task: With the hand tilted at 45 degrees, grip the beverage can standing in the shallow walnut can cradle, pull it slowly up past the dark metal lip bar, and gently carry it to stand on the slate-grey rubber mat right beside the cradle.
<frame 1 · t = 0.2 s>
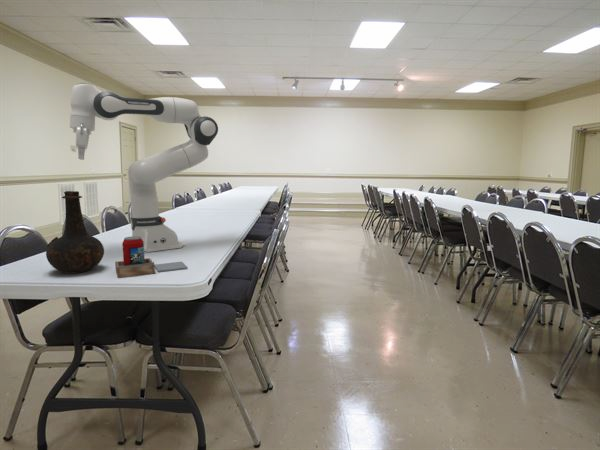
hand: (81, 159, 164), 39 cm above the table, tool pointing down, fingers open, 8 cm apart
glass bottle: (77, 270, 143), on the table
beverage can: (134, 272, 140), resting in can cradle
can cradle: (134, 271, 140), on the table
rubber mat: (170, 267, 146), on the table
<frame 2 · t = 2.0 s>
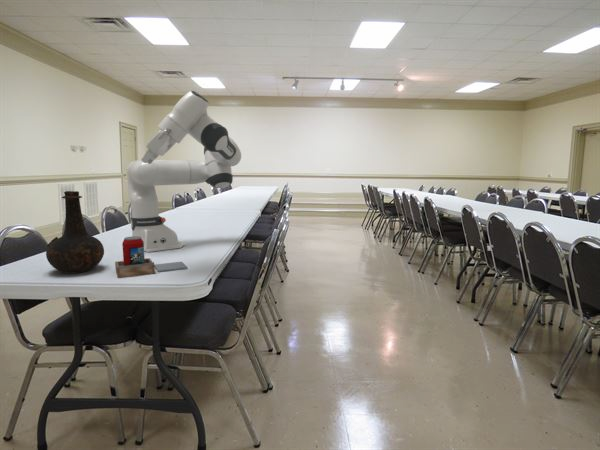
hand: (145, 162, 138), 37 cm above the table, tool tilted 40°, fingers open, 8 cm apart
nothing on the table moved.
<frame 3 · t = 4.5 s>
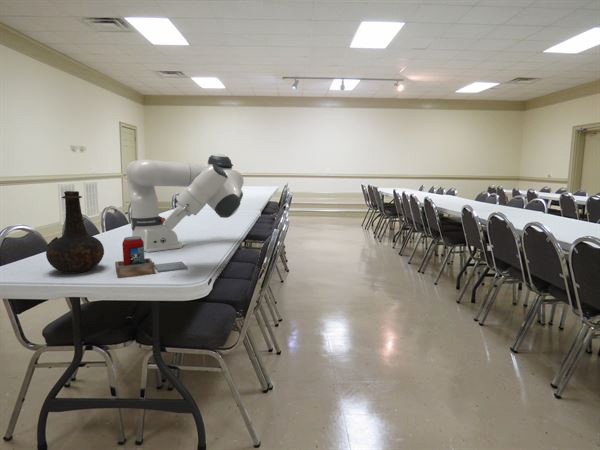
hand: (161, 232, 140), 14 cm above the table, tool tilted 45°, fingers open, 8 cm apart
nothing on the table moved.
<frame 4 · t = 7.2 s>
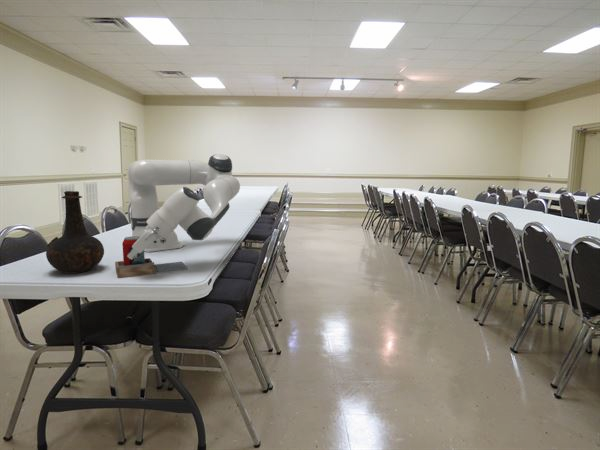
hand: (131, 254, 139), 6 cm above the table, tool tilted 45°, fingers closed on beverage can, 7 cm apart
beverage can: (135, 272, 140), resting in can cradle, touching gripper
everything else where it was.
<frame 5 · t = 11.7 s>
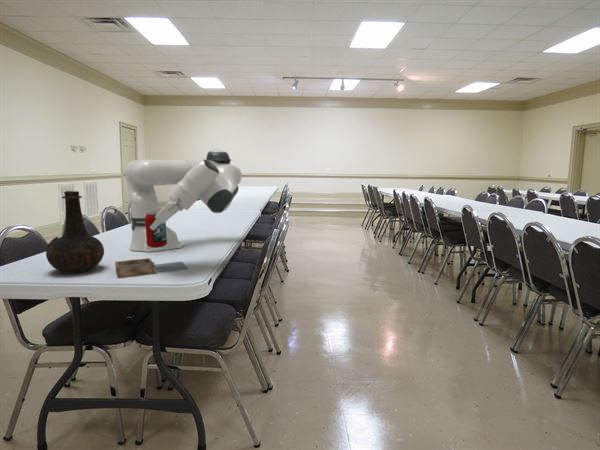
hand: (153, 227, 141), 15 cm above the table, tool tilted 45°, fingers closed on beverage can, 7 cm apart
beverage can: (157, 246, 143), point 8 cm above the table, touching gripper
everything else where it was.
when the fingers open (8 cm above the table, at t = 15.3 s): beverage can stays where it is, resting on rubber mat.
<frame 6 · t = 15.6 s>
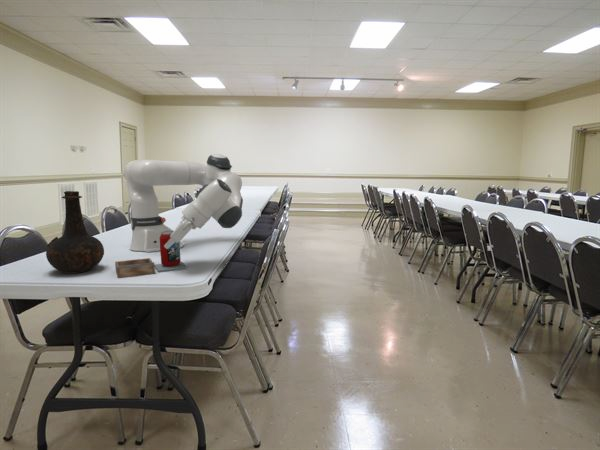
hand: (167, 244, 145), 8 cm above the table, tool tilted 45°, fingers open, 8 cm apart
beverage can: (171, 265, 147), point 1 cm above the table, touching gripper, rubber mat
everything else where it was.
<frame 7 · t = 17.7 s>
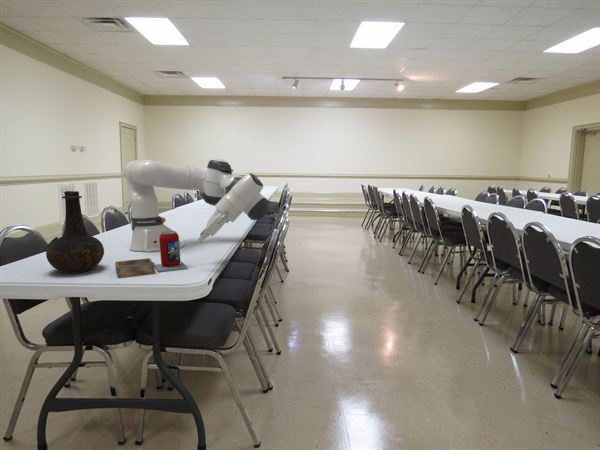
hand: (200, 238, 146), 10 cm above the table, tool tilted 45°, fingers open, 8 cm apart
beverage can: (171, 265, 147), resting on rubber mat
everything else where it was.
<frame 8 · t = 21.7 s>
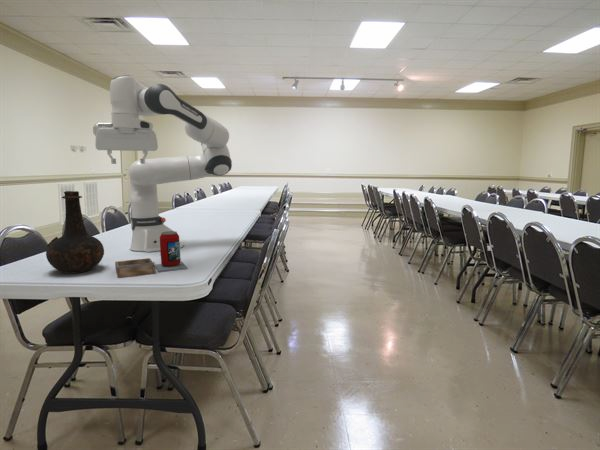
hand: (128, 163, 143), 37 cm above the table, tool pointing down, fingers open, 8 cm apart
nothing on the table moved.
at the end: beverage can inside the target area on the rubber mat (1.3 cm from its centre), point 0.4 cm above the rubber mat's base; beverage can tilted 0°; the gripper is holding nothing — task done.
